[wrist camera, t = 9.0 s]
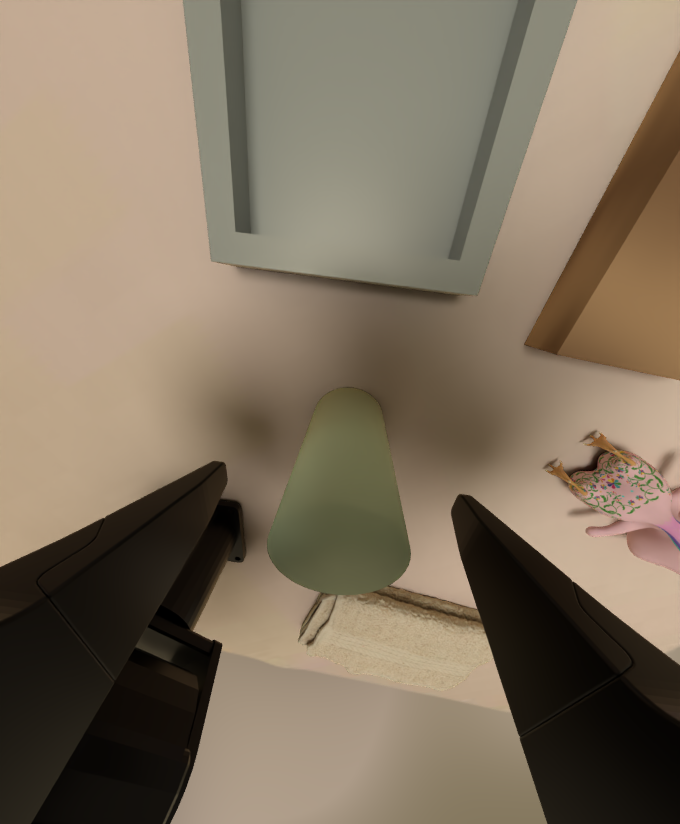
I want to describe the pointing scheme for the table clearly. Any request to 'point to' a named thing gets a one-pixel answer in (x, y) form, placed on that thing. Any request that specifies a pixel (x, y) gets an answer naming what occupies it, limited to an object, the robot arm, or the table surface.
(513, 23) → the tray
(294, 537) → the pale green rounded cylinder
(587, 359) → the brown flat block
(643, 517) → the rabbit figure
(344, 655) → the washcloth
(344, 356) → the table surface
